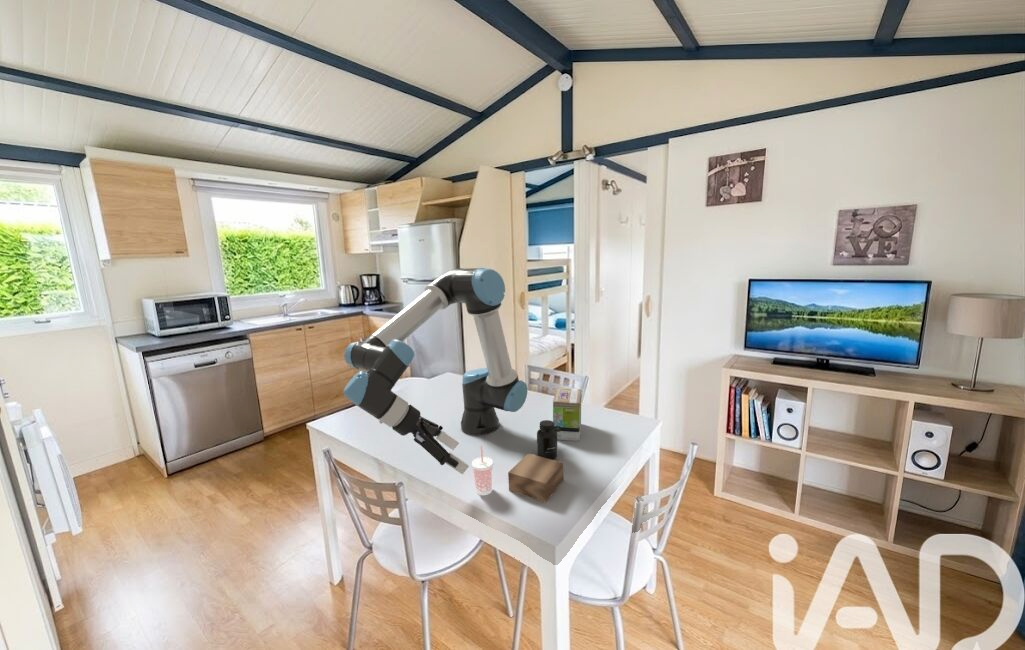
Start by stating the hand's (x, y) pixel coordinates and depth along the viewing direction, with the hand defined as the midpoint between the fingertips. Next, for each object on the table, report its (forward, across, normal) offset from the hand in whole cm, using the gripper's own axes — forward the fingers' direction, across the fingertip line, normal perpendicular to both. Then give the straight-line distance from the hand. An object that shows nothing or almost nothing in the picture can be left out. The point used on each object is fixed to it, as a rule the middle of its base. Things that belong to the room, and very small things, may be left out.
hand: (460, 457), depth 110 cm
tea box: (+41, -25, +24) cm, 53 cm away
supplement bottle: (+31, -11, +13) cm, 35 cm away
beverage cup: (+13, -1, -4) cm, 14 cm away
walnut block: (+24, +3, +6) cm, 25 cm away
